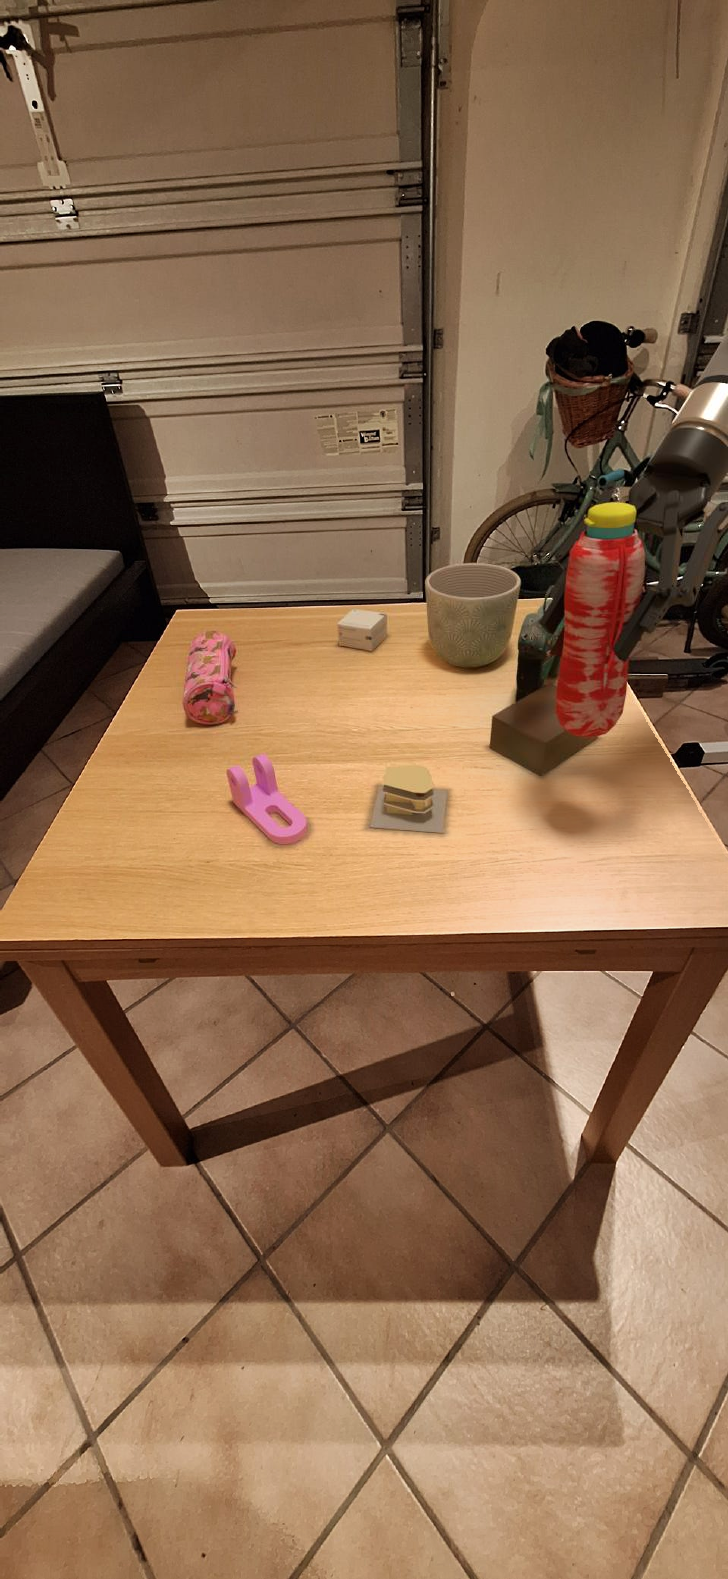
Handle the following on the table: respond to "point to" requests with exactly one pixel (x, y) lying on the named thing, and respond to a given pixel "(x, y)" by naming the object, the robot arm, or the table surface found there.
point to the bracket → (266, 802)
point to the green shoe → (536, 653)
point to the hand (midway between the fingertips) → (581, 641)
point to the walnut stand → (534, 732)
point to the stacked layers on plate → (409, 801)
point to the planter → (471, 612)
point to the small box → (362, 629)
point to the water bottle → (598, 620)
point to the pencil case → (209, 679)
